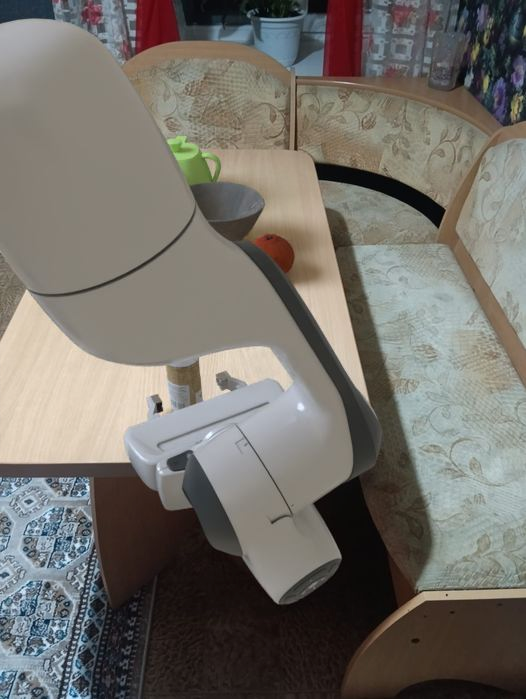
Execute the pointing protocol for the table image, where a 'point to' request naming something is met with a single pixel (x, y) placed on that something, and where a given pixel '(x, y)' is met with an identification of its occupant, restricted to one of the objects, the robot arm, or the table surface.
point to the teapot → (193, 161)
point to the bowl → (229, 207)
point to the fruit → (277, 250)
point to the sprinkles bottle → (184, 384)
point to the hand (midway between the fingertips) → (187, 387)
